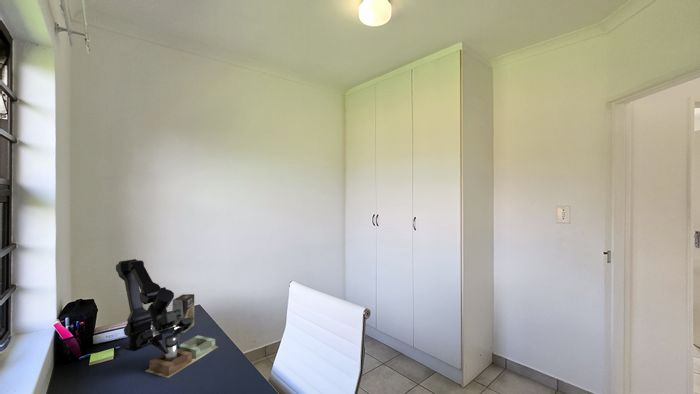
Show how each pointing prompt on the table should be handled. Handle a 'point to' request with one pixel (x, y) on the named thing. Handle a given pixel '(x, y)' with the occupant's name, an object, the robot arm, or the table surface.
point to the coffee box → (184, 308)
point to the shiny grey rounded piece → (171, 348)
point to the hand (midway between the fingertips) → (172, 351)
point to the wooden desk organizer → (182, 356)
